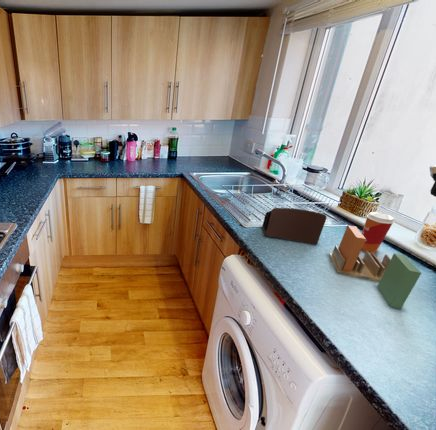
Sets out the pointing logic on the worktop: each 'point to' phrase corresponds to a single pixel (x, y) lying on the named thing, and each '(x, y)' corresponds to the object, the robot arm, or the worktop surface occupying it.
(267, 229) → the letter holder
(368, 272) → the book rack
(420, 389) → the worktop surface
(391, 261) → the green book
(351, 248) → the orange book
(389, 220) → the coffee cup
